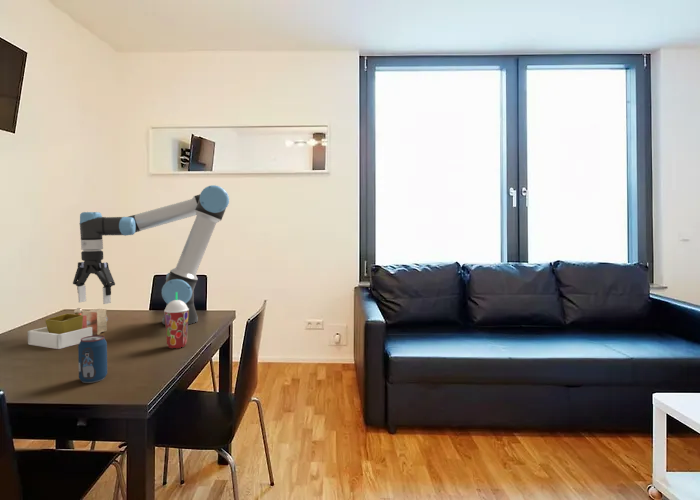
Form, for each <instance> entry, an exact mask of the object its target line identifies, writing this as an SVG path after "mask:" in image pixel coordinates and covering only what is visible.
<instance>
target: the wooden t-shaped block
mask: <svg viewBox="0 0 700 500" xmlns="http://www.w3.org/2000/svg"><path fill="white" fill-rule="evenodd" d="M73 312H74V313H73V314H76V315H83V323H82V329H84V328H88V327H92V335H94V336H95V335H101V333H103V332H107V330H108V329H107V322H108V320H109V318H108V316H107V308H94V309H89V310H86V309H85V310H84V309H82V308H80V307H77V308H75V309H74V310H73Z"/></svg>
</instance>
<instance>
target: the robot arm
mask: <svg viewBox="0 0 700 500" xmlns="http://www.w3.org/2000/svg"><path fill="white" fill-rule="evenodd" d="M229 204H230V195H229V194H228V192H227V191H226V190H225V188H223V187H221V186H219V185H216V184H215V185H208V186H206V187H204V188H203V189H202V190H201V192H200V193H199V194H197V195H193V197H192V198H191V199H190V198H189V199H186V200H183V201H180V202H176V203H172V204H169V205H165V206H161V207H157V208H155V209H150V210H148V211H147V210H146V211H144V212H140V213H137V214H132V215H130V216H109V217H108V216H107V217H106V216H103V215H102V213H101V212H99V211H98V212H97V211H87V212H86V211H83V212H81V213H80V214H79V231H80V234H79V235H80V250H82V251H81V252H80V254H81V256H80V257H81V258H80V259H81V262H78V261H77V268H76V272H75V275H74V278H73V281H72V285H75V286H76V287H77V296H78V303H84V302H87V292H86V285H85V283H86V282H87V280H88V279H89V276H90V275H93V274H94V275H95V276H97V278H98V279H99V281H100V282H101V284H102V285H103V286H102V302H103V305H107V304H111V303H112V301H111V295H112V287H113V286H115V285H116V283H115V280H114V277H113V275H112V273H111V269H110V268H109V263H108V262H102V261H103V260H104V251H103V249H104V240H103V237H104V236H125V237H126V236H134V235H135V233H138V232H141V231H142V232H143V231H145V230H149V229H152V228H156V227H159V226H163V225H167V224H170V223H174V222H176V221H180V220H181V221H182V220H183V219H187V218H191V217H195V216H196V217H195V219H194V222H193V224H192V227H191V228H190V231H189V234H188V237H187V240H186V241H185V244H184V246H183V249H182V251H181V254H180V256H179V259H178V261H177V264H176V266H175V267H174V268H172V269H170V271H169V272H168V273H166V277H165V280H166V281H165V283H164V284H163V285H162V287H161V297H162V299H163V301H164V302H165V303H166V306H167V305H168V304H169V303H170V302H171V301H173V300H176V292H178V300H181V301H183V302H184V303H185V304H186V305H187V307H188V308H189V313H188V325H193V324H195V322H196V323H198V321H199V319H198V318H199V316H198V314H197V310H196V307H195V303H194V302H195V299H194V298H195V297H194V296H195V294H194V293H195V291H194V290H195V287H196V285H197V282H198V281H199V280H198V279H199V278H198V277H197V273H198V270H199V267H200V265H201V262H202V259H203V257H204V255H205V252H206V249H207V247H208V245H209V242H210V240H211V238H212V236H213V235H212V234H213V232H214V230H215V227H216V224H217V223H219V222H221V221H222V220H223V217H224V215H225V212H226V209H227V208H228V206H229ZM192 323H193V324H192ZM162 325H165V313H164V315H163V317H162Z"/></svg>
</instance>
